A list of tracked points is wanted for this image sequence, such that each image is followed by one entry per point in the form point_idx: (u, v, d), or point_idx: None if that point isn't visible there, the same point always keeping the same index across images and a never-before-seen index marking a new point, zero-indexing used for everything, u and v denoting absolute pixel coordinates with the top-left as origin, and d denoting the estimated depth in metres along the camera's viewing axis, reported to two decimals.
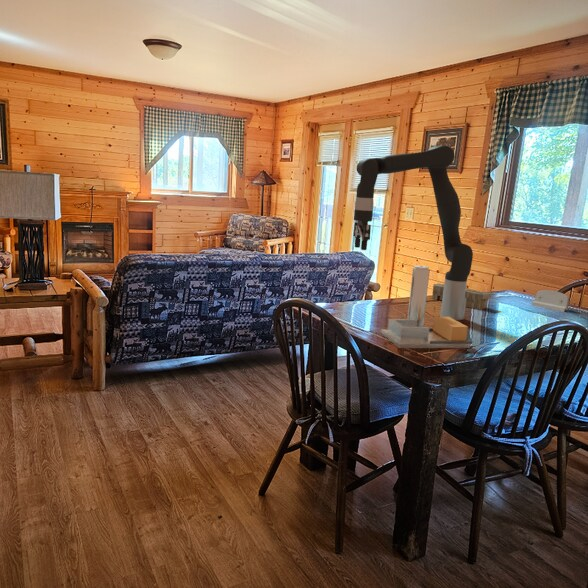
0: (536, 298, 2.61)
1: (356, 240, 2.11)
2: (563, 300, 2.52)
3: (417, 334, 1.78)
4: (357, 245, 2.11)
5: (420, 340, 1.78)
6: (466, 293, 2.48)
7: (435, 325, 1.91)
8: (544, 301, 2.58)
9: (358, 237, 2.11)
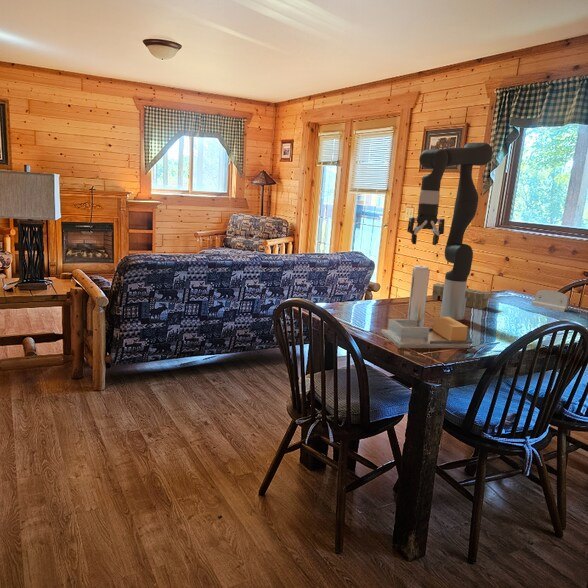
0: (536, 298, 2.61)
1: None
2: (563, 300, 2.52)
3: (417, 334, 1.78)
4: None
5: (420, 340, 1.78)
6: (467, 293, 2.48)
7: (435, 325, 1.91)
8: (544, 301, 2.58)
9: None
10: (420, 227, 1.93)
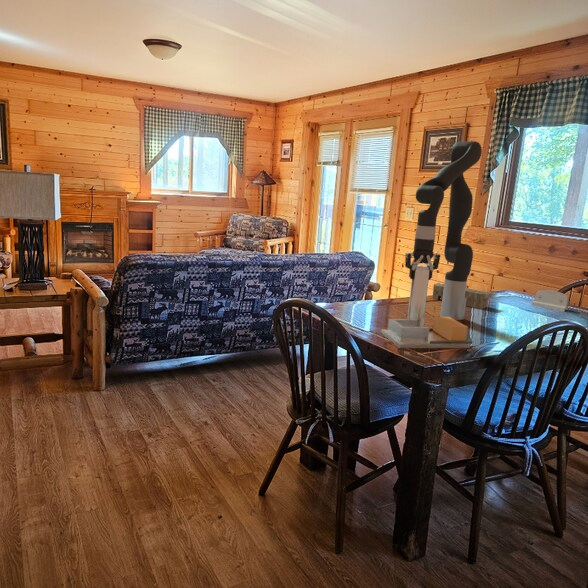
0: (536, 298, 2.62)
1: None
2: (563, 300, 2.53)
3: (417, 334, 1.78)
4: None
5: (420, 340, 1.78)
6: (467, 293, 2.49)
7: (435, 325, 1.91)
8: (544, 301, 2.59)
9: None
10: (417, 262, 1.96)
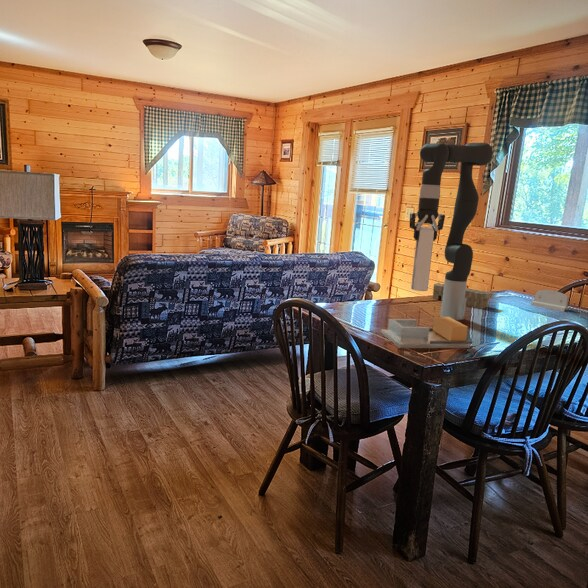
0: (535, 298, 2.62)
1: None
2: (563, 300, 2.53)
3: (417, 334, 1.78)
4: None
5: (420, 340, 1.78)
6: (468, 293, 2.49)
7: (435, 325, 1.91)
8: (543, 301, 2.59)
9: None
10: (422, 222, 1.93)
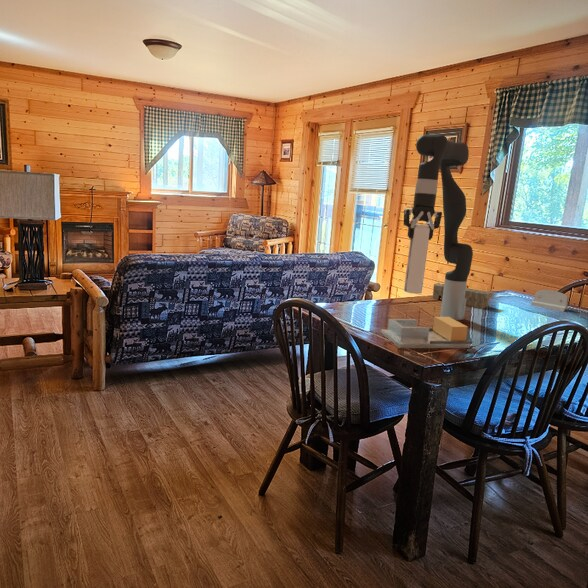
0: (535, 298, 2.62)
1: None
2: (563, 300, 2.53)
3: (417, 334, 1.78)
4: None
5: (420, 340, 1.78)
6: (468, 293, 2.50)
7: (435, 325, 1.91)
8: (543, 301, 2.59)
9: None
10: (416, 219, 1.79)
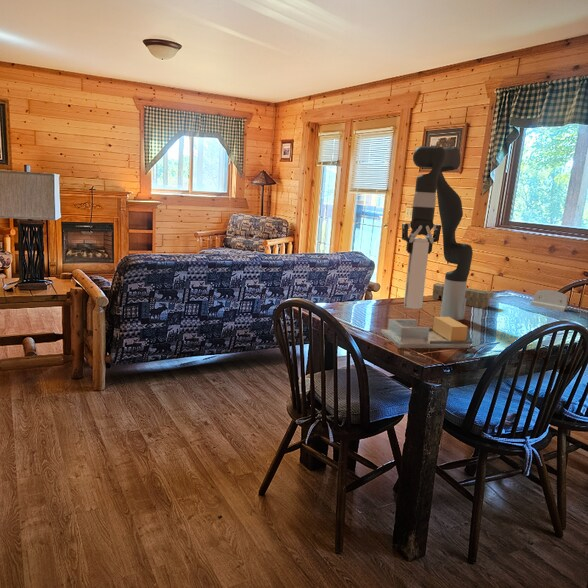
0: (535, 298, 2.62)
1: None
2: (562, 300, 2.53)
3: (417, 334, 1.78)
4: None
5: (420, 340, 1.78)
6: (469, 292, 2.50)
7: (435, 325, 1.91)
8: (543, 301, 2.59)
9: None
10: (415, 234, 1.74)
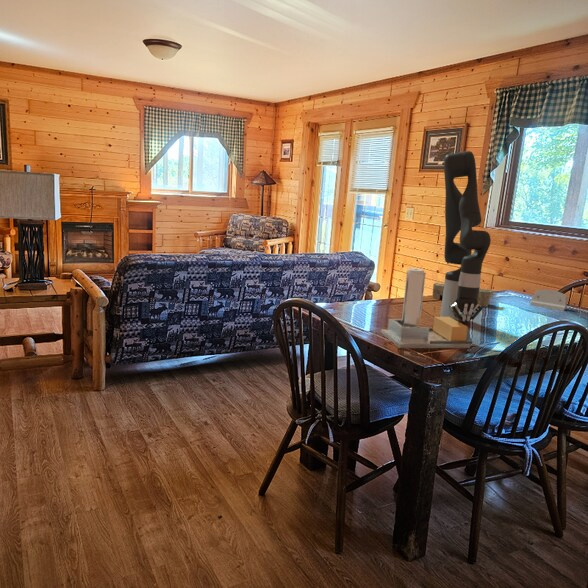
0: (534, 298, 2.62)
1: None
2: (562, 299, 2.54)
3: (417, 334, 1.78)
4: None
5: (420, 340, 1.78)
6: None
7: (435, 325, 1.91)
8: (542, 300, 2.59)
9: None
10: (465, 312, 1.84)
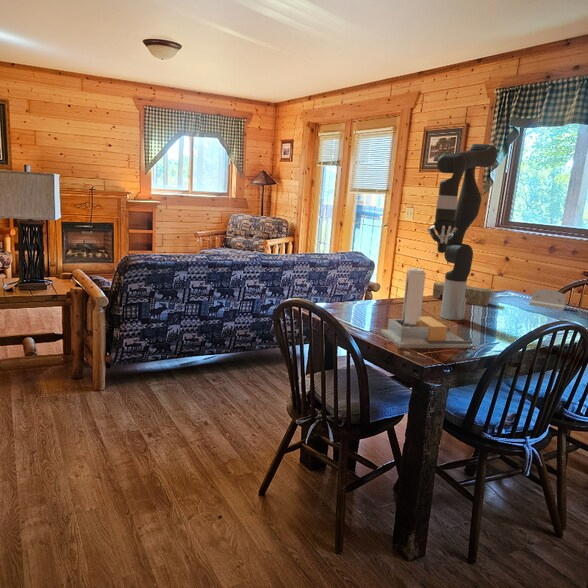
0: (533, 298, 2.62)
1: None
2: (561, 299, 2.55)
3: (417, 334, 1.78)
4: None
5: (420, 340, 1.78)
6: (472, 291, 2.55)
7: None
8: (541, 300, 2.60)
9: None
10: (442, 234, 1.92)
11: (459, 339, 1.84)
